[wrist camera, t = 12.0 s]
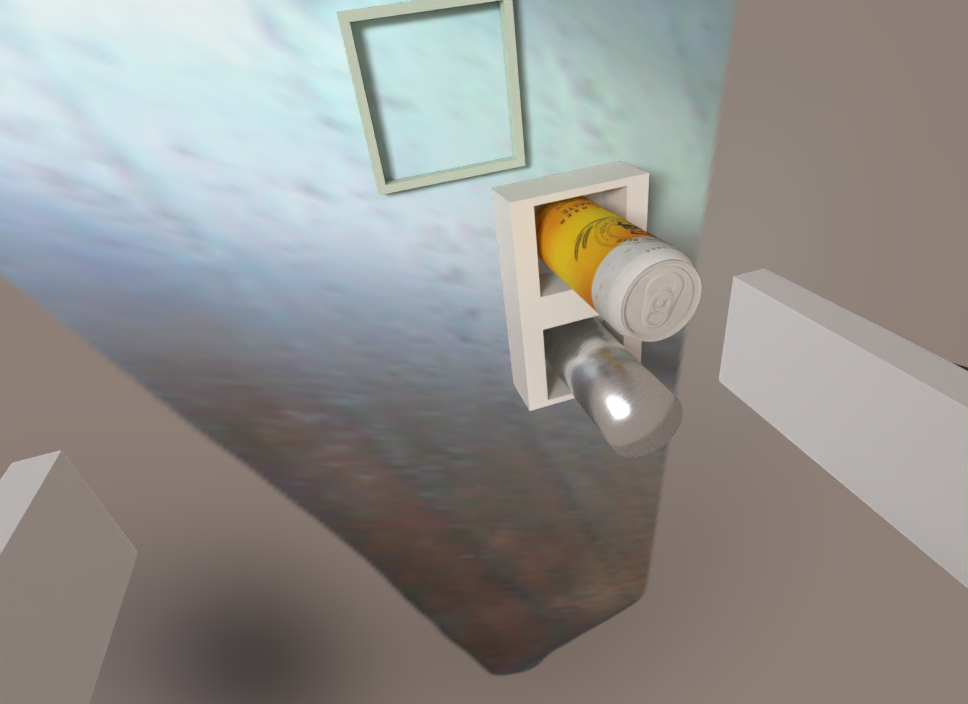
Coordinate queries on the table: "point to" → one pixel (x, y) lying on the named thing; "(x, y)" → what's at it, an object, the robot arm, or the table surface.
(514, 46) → the empty picture frame
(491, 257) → the table surface
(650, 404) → the shiny metal cylinder
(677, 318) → the beer can
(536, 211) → the dock
